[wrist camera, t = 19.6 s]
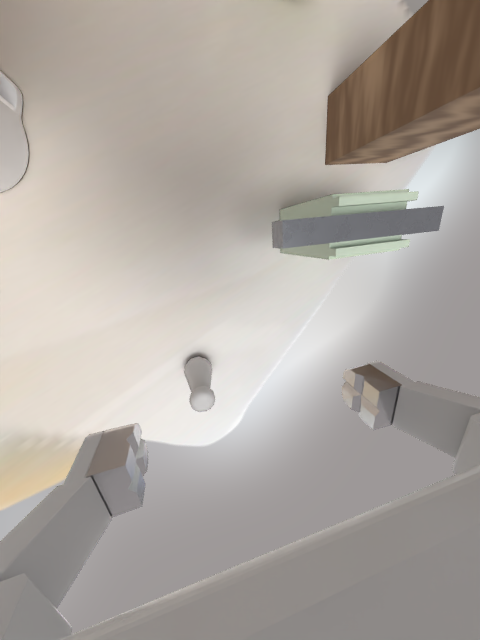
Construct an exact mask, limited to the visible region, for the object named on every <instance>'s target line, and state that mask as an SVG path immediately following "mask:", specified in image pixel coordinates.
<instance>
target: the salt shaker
mask: <svg viewBox="0 0 480 640" xmlns="http://www.w3.org/2000/svg"><path fill="white" fill-rule="evenodd" d="M184 373H185V376H186V379H187V382H188V384H189V387H190V390H191V392H192V393H191V395H190V404H191V407H192V408H193V409H194V410H195V411H198V412H204V411H207V410H209V409H211V407H212V406H213V405H214V402H215V396H214V393H213V391H212V390H211V389H210V385H211V375H212V366H211V363H210V362H209V361H208V360H207V359H205V358H201V357H200V356H198V357H195V358H191V359H190V360H189V361H188V363H187V364H186V365H185V370H184Z"/></svg>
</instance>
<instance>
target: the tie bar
mask: <svg viewBox="0 0 480 640" xmlns="http://www.w3.org/2000/svg"><path fill="white" fill-rule="evenodd" d="M443 208H444V206H438V207H427V208H417V209H404V210H393V211H381V212H370V213H359V214H347V215H336V216H324V217H313V218H302V219H290V220H281V221H275V222H272V238H273V248H282V249H284V248H292V247H301V246H310V245H318V244H327V243H335V242H344V241H353V240H361V239H370V238H378V237H387V236H396V235H404V234H413V233H421V232H429V231H438V230H439V226H440V222H441V217H442V212H443Z"/></svg>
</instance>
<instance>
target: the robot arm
mask: <svg viewBox="0 0 480 640" xmlns="http://www.w3.org/2000/svg"><path fill="white" fill-rule="evenodd" d="M22 106H23V98H22V94H21V91H20V90H19V88H18V87H17V86H16V85H15V84H14V83H13V82H12V81H11V80H10V79H9V78H8V77H6V76H5V75H4V74H3V73H2V72H1V71H0V192H3V191H6V190H8V189H10V188H11V187H13V186H14V185H15V184H17V183H18V182H19V180H20V179H21V178H22V176H23V175H24V173H25V170H26V168H27V164H28V156H29V153H28V143H27V138H26V135H25V131H24V128H23V125H22V120H21V115H22ZM343 379H344V380H345V383H344V385H343V386H342V396H343V399H344V401H345V403H346V404H347V405H348V406H349V407H350V409H352V410H354V411H357V412H359V417H360V418H361V419H362V420H363V421H364V422H365V423H366V424H367V425H368V426H369V427H370V428H371V429H372V430H376V429H379V428H383V427H386V426H389V425H392V426H393V427H395V428H397V429H399V430H401V431H403V432H405V433H407V434H409V435H411V436H413V437H415V438H417V439H419V440H421V441H423V442H425V443H427V444H429V445H431V446H433V447H435V448H437V449H439V450H441V451H443V452H445V453H447V454H449V455H451V456H453V457H455V460H454V463H453V466H452V470H453V472H454V473H455V474H456V475H454V476H451V477H449V478H446V479H444V480H442V481H439V482H437V483H434V484H432V485H430V486H427V487H425V488H422V489H420V490H417V491H415V492H413V493H411V494H408V495H405V496H403V497H401V498H398V499H396V500H393V501H391V502H389V503H386V504H384V505H381V506H379V507H377V508H374V509H372V510H370V511H367V512H364V513H362V514H360V515H357V516H355V517H352V518H350V519H348V520H345V521H343V522H341V523H338V524H336V525H333V526H331V527H328V528H326V529H324V530H321V531H319V532H317V533H314V534H312V535H309V536H307V537H304V538H302V539H300V540H297V541H295V542H292V543H290V544H288V545H285V546H283V547H280V548H278V549H276V550H273V551H271V552H269V553H266V554H264V555H261V556H259V557H256V558H254V559H252V560H249V561H247V562H244V563H242V564H240V565H237V566H235V567H232V568H230V569H228V570H225V571H223V572H220V573H218V574H216V575H213V576H211V577H208V578H206V579H204V580H201V581H199V582H196V583H194V584H192V585H189V586H187V587H184V588H182V589H180V590H177V591H175V592H173V593H170V594H168V595H165V596H163V597H160V598H158V599H156V600H153V601H151V602H149V603H146V604H144V605H141V606H139V607H136V608H134V609H132V610H129V611H127V612H125V613H122V614H120V615H117V616H115V617H112V618H110V619H108V620H105V621H103V622H100V623H98V624H96V625H93V626H91V627H88V628H86V629H83V630H81V631H79V632H76V633H74V634H71V632H72V627H71V625H70V624H69V622H68V621H67V620H66V619H65V618H64V616H63V615H62V614H61V613H60V612H59V611H58V610H57V608H58V606H59V605H60V603H61V601H62V600H63V598H64V596H65V595H66V593H67V591H68V590H69V588H70V587H71V585H72V584H73V582H74V580H75V579H76V577H77V575H78V574H79V572H80V571H81V569H82V567H83V566H84V564H85V563H86V561H87V559H88V558H89V556H90V554H91V553H92V551H93V550H94V548H95V546H96V545H97V543H98V542H99V540H100V538H101V537H102V535H103V533H104V532H105V530H106V529H107V527H108V525H109V524H110V522H111V521H112V517H115V516H117V515H120V514H123V513H126V512H128V511H131V510H134V509H137V508H140V507H142V505H143V498H144V490H145V482H144V479H143V476H144V474H145V473H146V472H147V467H148V450H147V446H146V442H145V440H143V439H141V433H142V431H141V428H140V425H139V424H138V423H135V424H130V425H126V426H122V427H118V428H113V429H109V430H106V431H102V432H97V433H93V434H89V435H88V436H87V437H86V438H85V439H84V441H83V444H82V446H81V448H80V450H79V452H78V454H77V456H76V458H75V461H74V463H73V465H72V467H71V469H70V471H69V473H68V475H67V477H66V480H65V482H64V484H63V485H60V486H57V487H56V488H55V489H54V490H53V491H52V492H51V493H50V494H49V495H48V496H47V497H46V498H45V499H44V500H43V501H42V502H40V503H39V504H38V505H37V507H35V508H34V509H33V510H32V511H31V512H30V513H29V514H28V515H27V516H26V517H25V518H24V519H23V520H22V521H21V522H20V523H19V524H18V525H17V526H16V527H15V528H14V529H13V530H12V531H11V532H9V533H8V534H7V535H6V537H4V538H3V539H2V540H1V541H0V640H480V397H477V396H472V395H469V394H465V393H461V392H457V391H453V390H450V389H446V388H442V387H438V386H434V385H430V384H427V383H422V382H419V381H417V382H414V381H412V380H410V379H409V378H407V377H405V376H404V375H402V374H400V373H399V372H397V371H395V370H394V369H392V368H390V367H389V366H387V365H385V364H384V363H382V362H379V361H375V362H371V363H367V364H365V365H361V366H357V367H353V368H350V369H346V370H345V371H344V373H343Z"/></svg>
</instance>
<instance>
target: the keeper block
mask: <svg viewBox="0 0 480 640" xmlns="http://www.w3.org/2000/svg"><path fill="white" fill-rule="evenodd" d="M417 197H418V191H417V192H409V189H404V190H390V191H375V192H360V193H346V194H332V195H329V196H325V197H322V198H318V199H315V200H311V201H308V202H304V203H301V204H297V205H294V206H291V207H287V208H284V209H280V221H281V220H290V219H302V218H313V217H324V216H336V215H347V214H359V213H370V212H381V211H393V210H404V209H406V205H407V201H413V200H417ZM401 236H402V235H396V236H387V237H378V238H370V239H361V240H353V241H344V242H335V243H327V244H318V245H310V246H301V247H292V248H284V249H282V248H280V249H281V253H284V254H292V255H299V256H306V257H314V258H321V259H328V260H330V259H337V258H344V257H352V256H359V255H366V254H373V253H381V252H388V251H396V250H399V249H400V248H404V247H409V242H410V239H405V240H403V239H401Z"/></svg>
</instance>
